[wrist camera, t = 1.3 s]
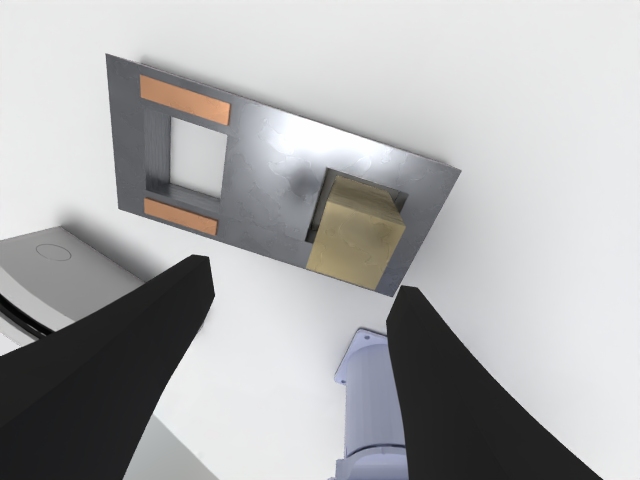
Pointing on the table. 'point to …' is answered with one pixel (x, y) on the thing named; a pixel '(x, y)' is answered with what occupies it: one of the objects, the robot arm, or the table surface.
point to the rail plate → (258, 169)
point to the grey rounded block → (54, 283)
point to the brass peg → (356, 233)
